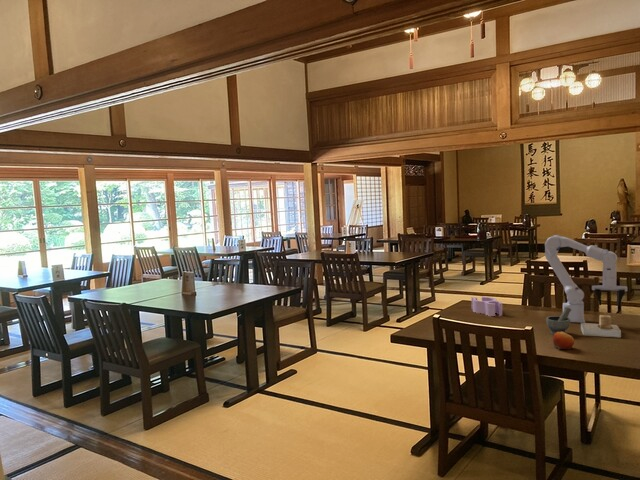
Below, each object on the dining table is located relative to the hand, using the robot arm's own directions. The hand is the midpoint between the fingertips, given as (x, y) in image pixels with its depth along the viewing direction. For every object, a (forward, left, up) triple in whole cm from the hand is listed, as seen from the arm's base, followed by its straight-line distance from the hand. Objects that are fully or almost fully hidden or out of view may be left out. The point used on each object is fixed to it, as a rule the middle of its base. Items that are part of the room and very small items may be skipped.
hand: (609, 305), depth 236 cm
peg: (-4, -17, -9) cm, 20 cm away
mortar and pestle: (-23, -21, -10) cm, 33 cm away
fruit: (-23, -44, -10) cm, 51 cm away
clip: (-56, +13, -10) cm, 59 cm away
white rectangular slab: (-6, -17, -9) cm, 20 cm away
